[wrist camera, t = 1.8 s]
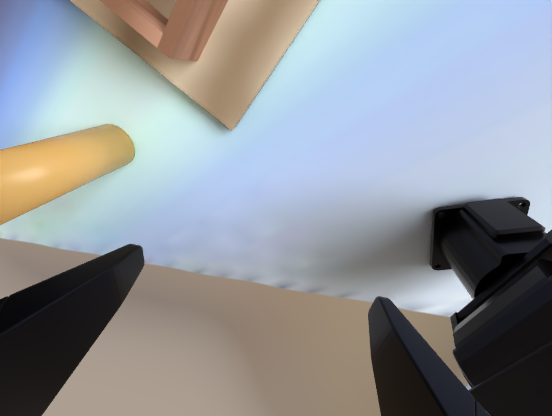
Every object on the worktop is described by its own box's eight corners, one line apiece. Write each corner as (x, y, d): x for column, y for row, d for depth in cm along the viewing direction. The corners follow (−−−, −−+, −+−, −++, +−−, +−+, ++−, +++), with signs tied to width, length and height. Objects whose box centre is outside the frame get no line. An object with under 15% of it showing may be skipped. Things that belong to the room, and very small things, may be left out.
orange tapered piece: (142, 160, 22) (-117, 290, 9) (110, 167, 23) (-168, 295, 10) (121, 119, 20) (-230, 204, 7) (88, 129, 21) (-279, 219, 8)
